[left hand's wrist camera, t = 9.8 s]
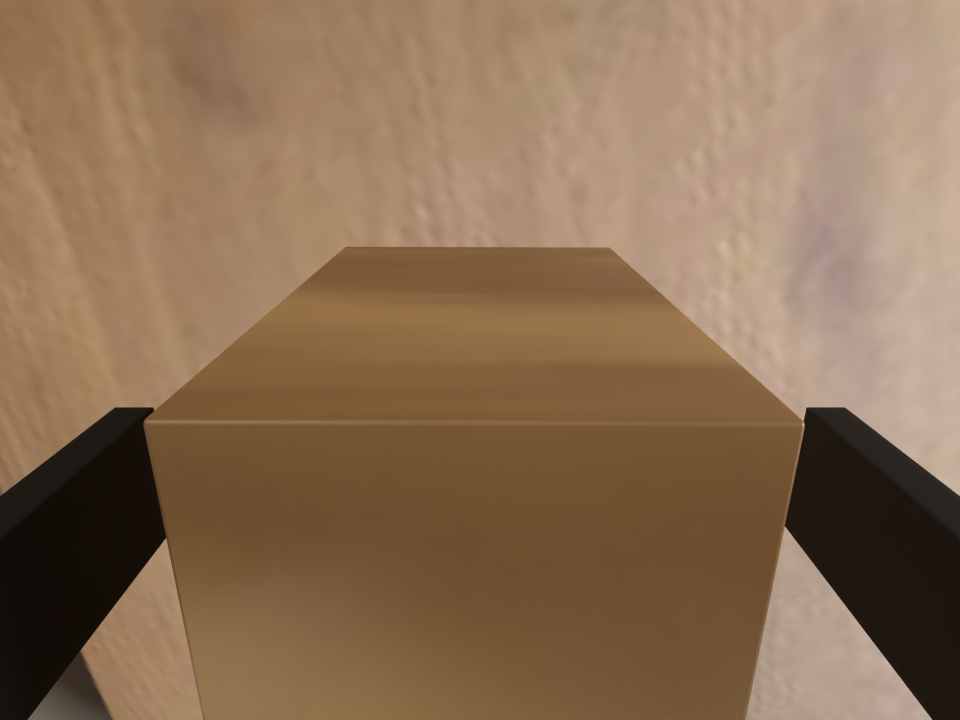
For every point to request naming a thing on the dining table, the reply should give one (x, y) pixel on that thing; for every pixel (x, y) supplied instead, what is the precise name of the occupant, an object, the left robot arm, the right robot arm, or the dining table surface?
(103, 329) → the dining table surface
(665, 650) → the box
